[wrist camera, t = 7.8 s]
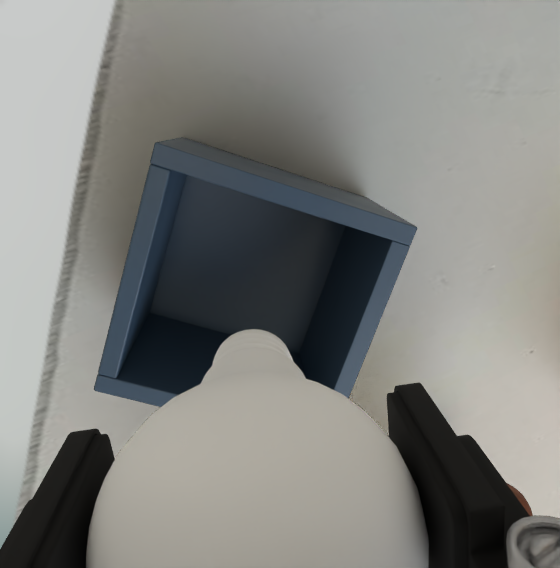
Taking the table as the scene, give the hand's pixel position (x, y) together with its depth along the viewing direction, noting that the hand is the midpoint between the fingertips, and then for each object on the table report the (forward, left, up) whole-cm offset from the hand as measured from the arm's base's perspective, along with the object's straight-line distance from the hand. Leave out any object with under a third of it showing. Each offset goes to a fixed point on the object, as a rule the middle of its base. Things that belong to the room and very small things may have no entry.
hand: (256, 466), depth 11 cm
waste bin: (0, 0, -18) cm, 18 cm away
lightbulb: (0, 0, -6) cm, 6 cm away
